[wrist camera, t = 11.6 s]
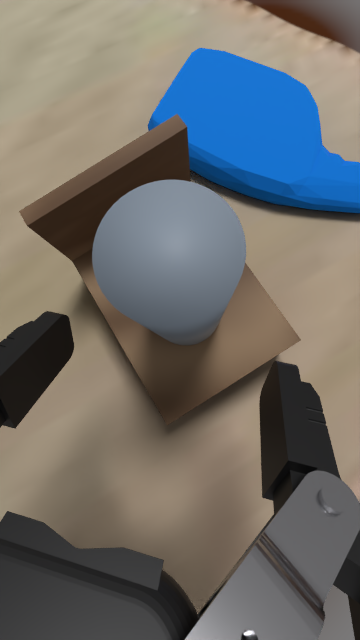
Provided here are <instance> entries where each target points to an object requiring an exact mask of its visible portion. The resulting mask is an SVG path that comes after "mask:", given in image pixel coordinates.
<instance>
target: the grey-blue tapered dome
mask: <svg viewBox="0 0 360 640" xmlns="http://www.w3.org/2000/svg"><path fill="white" fill-rule="evenodd" d="M245 258H246V242H245V236H244V232H243V229H242V226H241V223H240V221H239V219H238V217H237V215H236V214H235V212H234V211H233V209H232V208H231V207H230V206H229V204H228V203H227V202H226V201H225V200H224V199H223V198H221V197H220V196H219V195H218V194H216V193H215V192H213V191H212V190H210V189H208V188H206V187H204V186H202V185H199V184H196V183H194V182H189V181H184V180H161V181H155V182H151V183H147V184H144V185H142V186H139V187H137V188H135V189H133V190H132V191H130V192H128V193H127V194H125V195H124V196H122V197H121V198H120V199H119V200H118V201H117V202H116V203H114V204H113V206H112V207H111V208H110V209H109V210H108V211H107V213H106V214H105V216H104V217H103V219H102V221H101V223H100V225H99V227H98V229H97V232H96V235H95V238H94V243H93V251H92V262H93V269H94V274H95V277H96V280H97V283H98V285H99V287H100V289H101V291H102V293H103V294H104V295H105V297H106V298H107V300H108V301H109V302H110V303H111V304H112V305H113V306H114V307H115V308H116V309H117V310H118V311H120V312H121V313H122V314H124V315H126V316H127V317H129V318H130V319H132V320H134V321H136V322H137V323H139V324H141V325H142V326H144V327H146V328H147V329H149V330H151V331H153V332H154V333H156V334H158V335H159V336H161V337H163V338H165V339H166V340H168V341H170V342H172V343H174V344H178V345H186V346H188V345H194V344H198V343H200V342H202V341H204V340H206V339H207V338H208V337H209V336H211V335H212V333H213V332H214V331H215V329H216V328H217V326H218V324H219V322H220V320H221V318H222V316H223V314H224V311H225V309H226V307H227V305H228V303H229V301H230V299H231V297H232V295H233V293H234V291H235V289H236V287H237V285H238V282H239V280H240V278H241V276H242V273H243V269H244V265H245Z"/></svg>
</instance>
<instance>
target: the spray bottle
mask: <svg viewBox="0 0 360 640" xmlns="http://www.w3.org/2000/svg"><path fill="white" fill-rule="evenodd" d="M176 114H178V115H179V117H180V118H181V119H182V121H183V122H184V123H185V125H186V126H187V132H188V148H189V164H190V170H192V171H194V172H196V173H197V174H199V175H201V176H202V177H204V178H206V179H207V180H209V181H211V182H214V183H216V184H219V185H221V186H223V187H226V188H228V189H231V190H233V191H236V192H238V193H241V194H243V195H246V196H249V197H253V198H256V199H259V200H263V201H266V202H269V203H273V204H277V205H285V206H293V207H299V208H305V209H313V210H324V211H336V212H349V213H360V163H359V162H351V161H344V160H343V159H342V158H341V156H340V155H338V154H333V153H330V152H329V151H328V150H327V149H326V148H325V147H324V146H323V145H322V138H321V128H320V120H319V114H318V107H317V105H316V103H315V101H314V99H313V97H312V95H311V93H310V92H309V90H308V88H307V87H306V86H305V85H304V84H302V83H300V82H299V81H297V80H296V79H294V78H292V77H291V76H289V75H287V74H286V73H284V72H281V71H278V70H275V69H272V68H270V67H267V66H264V65H261V64H258V63H256V62H253V61H250V60H247V59H244V58H242V57H239V56H236V55H233V54H230V53H228V52H225V51H219V50H212V49H205V48H199V49H197V50H195V51H194V52H192V53H191V55H190V56H189V58H188V59H187V61H186V62H185V64H184V65H183V67H182V68H181V70H180V71H179V73H178V74H177V76H176V78H175V79H174V81H173V82H172V84H171V86H170V87H169V89H168V90H167V92H166V93H165V95H164V97H163V98H162V100H161V101H160V103H159V105H158V106H157V108H156V109H155V111H154V112H153V114H152V116H151V119H150V121H149V124H148V130H149V131H150V130H152V129H153V128H155V127H157V126H158V125H160V124H161V123H163V122H165V121H166V120H168V119H170V118H171V117H173V116H174V115H176Z"/></svg>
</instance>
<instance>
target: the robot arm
mask: <svg viewBox="0 0 360 640" xmlns="http://www.w3.org/2000/svg"><path fill="white" fill-rule="evenodd" d="M73 350H74V342H73V337H72V331H71V326H70V321H69V318H68V316H67V315H63V314H59V313H54V312H49V311H47V312H44V313H43V314H42V315H41V316H40V317H39V318H37V319H36V320H35V321H30V322H28V323H26V324H24V325H22V326H20V327H18V328H17V329H15V330H14V331H13V332H12V333H11V334H10V335H8V336H7V339H4V340H3V341H1V342H0V427H1V426H2V425H4V426H8V427H11V428H16V427H17V426H18V424H19V423H20V422H21V421H22V419H23V418H24V417H25V415H26V414H27V413H28V412H29V410H30V409H31V408H32V406H33V405H34V404H35V403H36V401H37V400H38V399H39V398H40V396H41V395H42V394H43V392H44V391H45V390H46V389H47V387H48V386H49V385H50V384H51V382H52V381H53V380H54V378H55V377H56V376H57V375H58V373H59V372H60V371H61V370H62V368H63V367H64V366H65V364H66V363H67V362H68V361H69V359H70V358H71V356H72V353H73ZM260 436H261V469H262V498H266V499H269V500H273V503H274V515H273V516H272V517H271V518H270V520H269V521H268V522H267V524H266V525H265V526H264V528H263V529H262V530H261V532H260V533H259V534H258V536H257V537H256V538H255V540H254V541H253V542H252V544H251V545H250V546H249V547H248V549H247V550H246V551H245V553H244V554H243V555H242V557H241V558H240V559H239V561H238V562H237V563H236V565H235V566H234V567H233V569H232V570H231V571H230V572H229V574H228V575H227V576H226V577H225V579H224V580H223V581H222V583H221V584H220V585H219V586H218V588H217V589H216V590H215V592H214V593H213V594H212V596H211V597H210V598H209V600H208V601H207V602H206V604H205V605H204V606H203V607H202V609H201V610H200V611H199V613H198V614H197V612H196V610H195V608H194V606H193V605H192V603H191V601H190V599H189V598H188V596H187V595H186V593H185V592H184V591H183V589H182V588H181V587H180V585H179V584H178V583H177V582H176V581H175V580H174V579H173V578H172V577H171V576H170V575H169V574H167V573H166V572H165V571H163V570H162V566H163V561H164V560H161V559H158V558H155V557H152V556H149V555H145V554H142V553H139V552H136V551H133V550H130V549H126V548H94V549H78V548H75V547H74V546H72V545H71V544H70V543H69V542H67V541H66V540H65V539H64V538H62V537H61V536H60V535H59V534H57V533H56V532H55V531H54V530H52V529H51V528H50V527H49V526H47V525H46V524H45V523H44V522H40V521H37V520H34V519H31V518H28V517H25V516H21V515H18V514H15V513H12V512H9V511H7V512H6V514H5V516H4V517H3V519H2V520H1V522H0V640H318V637H319V635H320V633H321V630H322V627H323V624H324V619H325V612H324V611H323V605H324V602H325V599H326V597H327V595H328V593H329V591H330V589H331V587H332V585H334V586H336V587H337V588H339V589H340V590H341V591H343V592H344V593H346V594H347V595H348V599H349V606H350V612H351V617H352V624H353V630H354V636H355V640H360V503H359V502H358V500H357V498H356V496H355V495H354V493H353V492H352V490H351V489H350V488H349V487H348V486H347V485H346V484H345V483H344V482H343V481H342V480H341V478H340V475H339V472H338V469H337V465H336V461H335V457H334V453H333V449H332V445H331V441H330V437H329V433H328V429H327V426H326V421H325V417H324V414H323V409H322V405H321V401H320V397H319V396H318V394H317V393H316V391H315V390H314V388H313V387H312V385H311V384H310V383H306V382H301V379H300V374H299V369H298V367H297V365H293V364H288V363H283V362H279V361H274V363H273V364H272V367H271V369H270V371H269V374H268V376H267V378H266V381H265V383H264V385H263V388H262V391H261V395H260Z"/></svg>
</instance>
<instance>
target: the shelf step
mask: <svg viewBox="0 0 360 640" xmlns="http://www.w3.org/2000/svg"><path fill="white" fill-rule="evenodd" d="M161 180H184V181H189V182H191V180H190V164H189V148H188V132H187V126H186V125H185V123H184V122H183V121H182V119H181V118H180V117H179V115H178V114H176V115H174V116H173V117H171V118H170V119H168V120H166V121H165V122H163V123H161V124H160V125H158V126H157V127H155V128H153V129H152V130H150V131H149V132H147V133H145V134H144V135H142V136H140V137H139V138H137V139H136V140H134V141H132V142H131V143H129V144H127V145H126V146H124V147H123V148H121V149H119V150H118V151H116V152H115V153H113V154H111V155H110V156H108V157H106V158H105V159H103V160H102V161H100V162H98V163H97V164H95V165H93V166H92V167H90V168H89V169H87V170H85V171H84V172H82V173H80V174H79V175H77V176H76V177H74V178H72V179H71V180H69V181H68V182H66V183H64V184H63V185H61V186H59V187H58V188H56V189H55V190H53V191H51V192H50V193H48V194H46V195H45V196H43V197H42V198H40V199H38V200H37V201H35V202H33V203H32V204H30V205H29V206H27V207H25V208H24V209H22V210H21V211H19V212H20V214H21V216H22V217H23V219H24V221H25V223H26V225H27V226H28V227H29V228H31V229H32V230H33V231H34V232H36V233H37V234H38V235H40V236H41V237H42V238H43V239H45V240H46V241H47V242H48V243H50V244H51V245H52V246H54V247H55V248H56V249H57V250H59V251H60V252H61V253H63V254H64V255H65V256H66V257H68V258H69V259H70V260H71V261H72V262H73V263H74V265H75V267H76V268H77V270H78V272H79V274H80V275H81V277H82V279H83V281H84V282H85V284H86V286H87V288H88V289H89V291H90V293H91V294H92V296H93V298H94V300H95V301H96V303H97V305H98V307H99V308H100V310H101V312H102V313H103V315H104V317H105V319H106V320H107V322H108V324H109V326H110V327H111V329H112V331H113V332H114V334H115V336H116V338H117V339H118V341H119V343H120V345H121V346H122V348H123V350H124V352H125V353H126V355H127V357H128V358H129V360H130V362H131V364H132V365H133V367H134V369H135V371H136V372H137V374H138V376H139V377H140V379H141V381H142V383H143V384H144V386H145V388H146V390H147V391H148V393H149V395H150V396H151V398H152V400H153V402H154V403H155V405H156V407H157V409H158V410H159V412H160V414H161V416H162V417H163V419H164V421H165V422H166V424H167V425H169V424H170V423H172V422H173V421H175V420H176V419H178V418H180V417H181V416H183V415H184V414H186V413H187V412H189V411H191V410H192V409H194V408H195V407H197V406H198V405H200V404H202V403H203V402H205V401H206V400H208V399H209V398H211V397H212V396H214V395H216V394H217V393H219V392H220V391H222V390H223V389H225V388H227V387H228V386H230V385H231V384H233V383H234V382H236V381H238V380H239V379H241V378H242V377H244V376H245V375H247V374H249V373H250V372H252V371H253V370H255V369H256V368H258V367H259V366H261V365H263V364H264V363H266V362H267V361H269V360H270V359H272V358H274V357H275V356H277V355H278V354H280V353H281V352H283V351H285V350H286V349H288V348H289V347H291V346H292V345H294V344H295V343H297V342H299V341H300V340H301V339H300V338H299V337H298V335H297V334H296V333H295V331H294V330H293V328H292V327H291V326H290V324H289V323H288V321H287V320H286V319H285V317H284V316H283V314H282V313H281V312H280V310H279V309H278V307H277V306H276V305H275V303H274V302H273V301H272V299H271V298H270V296H269V295H268V294H267V292H266V291H265V289H264V288H263V287H262V285H261V284H260V282H259V281H258V280H257V278H256V277H255V276H254V274H253V273H252V271H251V270H250V269H249V267H248V266H247V264H246V263H245V265H244V269H243V273H242V276H241V278H240V280H239V282H238V285H237V287H236V289H235V291H234V293H233V295H232V297H231V299H230V301H229V303H228V305H227V307H226V309H225V311H224V314H223V316H222V318H221V320H220V322H219V324H218V326H217V328H216V329H215V331H214V332H213V333H212V335H211V336H209V337H208V338H207V339H206V340H204V341H202V342H200V343H198V344H194V345H188V346H186V345H178V344H174V343H172V342H170V341H168V340H166V339H165V338H163V337H161V336H159V335H158V334H156V333H154V332H153V331H151V330H149V329H147V328H146V327H144V326H142V325H141V324H139V323H137V322H136V321H134V320H132V319H130V318H129V317H127V316H126V315H124V314H122V313H121V312H120V311H118V310H117V309H116V308H115V307H114V306H113V305H112V304H111V303H110V302H109V301H108V300H107V298H106V297H105V295H104V294H103V293H102V291H101V289H100V287H99V285H98V283H97V280H96V277H95V274H94V269H93V262H92V251H93V243H94V238H95V235H96V232H97V229H98V227H99V225H100V223H101V221H102V219H103V217H104V216H105V214H106V213H107V211H108V210H109V209H110V208H111V207H112V206H113V204H114V203H116V202H117V201H118V200H119V199H120V198H121V197H122V196H124V195H125V194H127V193H128V192H130V191H132V190H133V189H135V188H137V187H139V186H142V185H144V184H147V183H151V182H155V181H161Z"/></svg>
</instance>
